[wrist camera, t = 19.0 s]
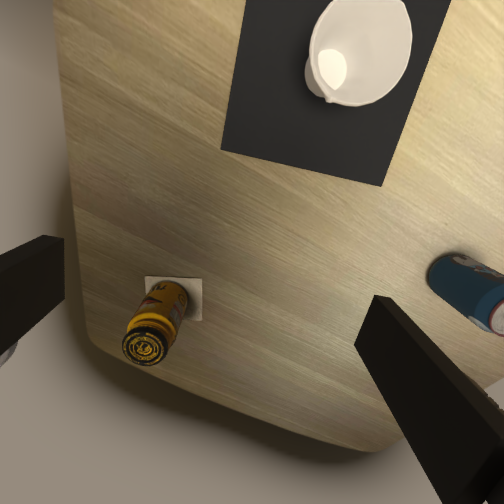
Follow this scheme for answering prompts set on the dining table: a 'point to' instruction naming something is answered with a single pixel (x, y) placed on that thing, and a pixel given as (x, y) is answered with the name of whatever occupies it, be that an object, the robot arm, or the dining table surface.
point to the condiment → (161, 317)
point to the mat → (307, 103)
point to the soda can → (471, 290)
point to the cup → (358, 50)
